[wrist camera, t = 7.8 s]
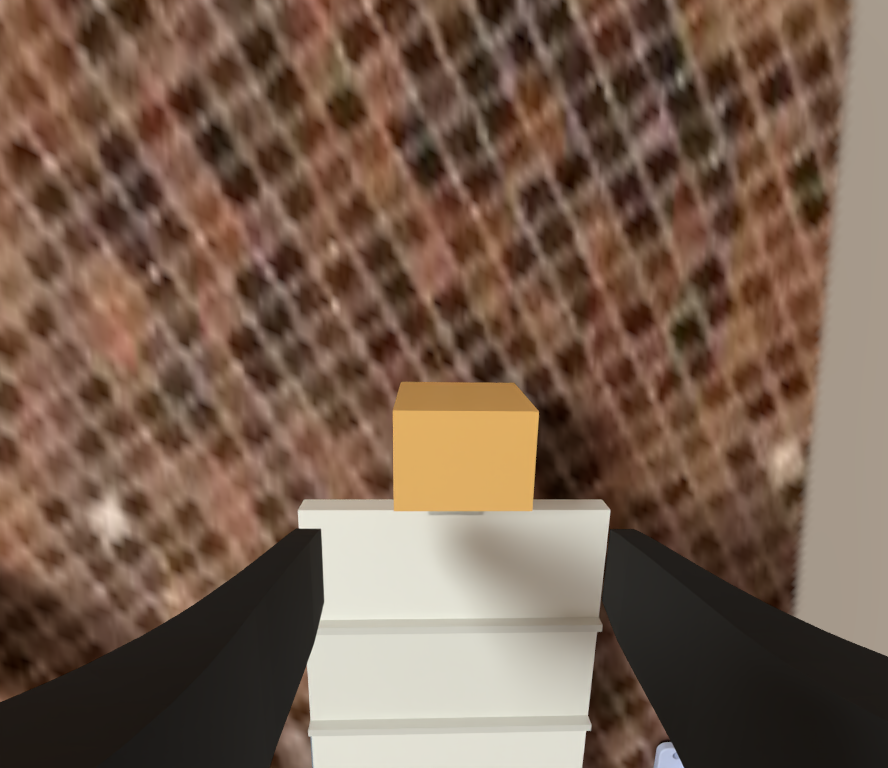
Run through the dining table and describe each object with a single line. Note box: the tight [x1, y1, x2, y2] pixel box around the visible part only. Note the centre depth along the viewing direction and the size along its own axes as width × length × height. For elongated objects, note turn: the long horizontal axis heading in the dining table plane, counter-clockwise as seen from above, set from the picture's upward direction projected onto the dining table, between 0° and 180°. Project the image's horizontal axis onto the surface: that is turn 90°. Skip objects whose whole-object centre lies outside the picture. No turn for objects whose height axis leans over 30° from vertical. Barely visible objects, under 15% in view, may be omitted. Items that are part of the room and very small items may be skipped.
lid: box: [298, 382, 610, 768], centre depth 16 cm, size 11×18×4 cm, turn 179°
